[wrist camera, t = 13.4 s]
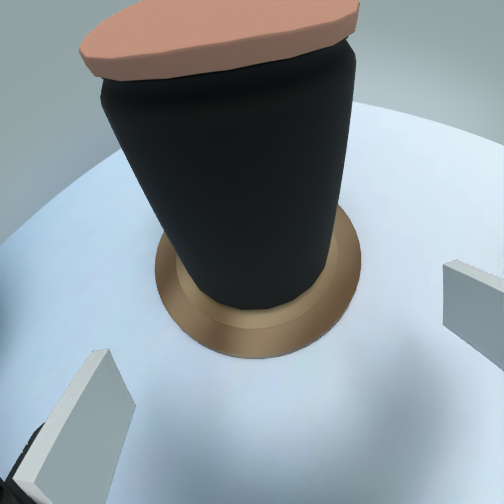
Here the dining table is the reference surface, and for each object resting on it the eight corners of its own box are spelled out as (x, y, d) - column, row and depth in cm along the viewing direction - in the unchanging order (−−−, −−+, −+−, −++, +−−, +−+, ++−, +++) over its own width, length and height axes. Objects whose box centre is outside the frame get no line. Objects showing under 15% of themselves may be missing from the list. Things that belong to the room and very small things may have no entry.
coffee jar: (230, 181, 28) (188, -20, 13) (346, 221, 25) (381, -12, 10) (162, 280, 24) (30, 67, 9) (291, 342, 21) (297, 69, 5)
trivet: (133, 331, 23) (125, 325, 22) (195, 176, 31) (192, 167, 30) (345, 376, 20) (349, 373, 19) (362, 195, 28) (364, 185, 27)
